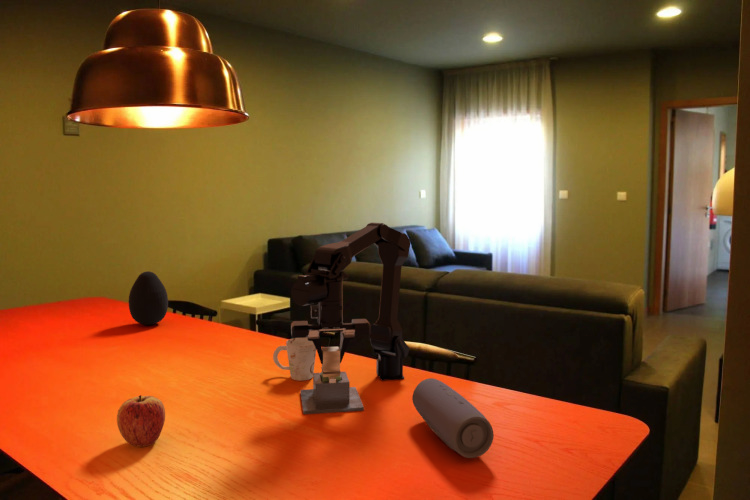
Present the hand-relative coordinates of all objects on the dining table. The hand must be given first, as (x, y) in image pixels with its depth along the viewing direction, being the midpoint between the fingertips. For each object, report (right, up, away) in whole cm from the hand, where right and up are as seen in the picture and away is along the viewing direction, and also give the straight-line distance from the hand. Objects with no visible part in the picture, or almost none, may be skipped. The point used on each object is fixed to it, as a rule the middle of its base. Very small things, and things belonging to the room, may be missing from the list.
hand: (330, 363), depth 141 cm
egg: (-73, -1, +77) cm, 106 cm away
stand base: (0, -10, +1) cm, 10 cm away
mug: (-11, -8, +19) cm, 24 cm away
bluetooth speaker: (+26, -12, -20) cm, 35 cm away
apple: (-36, -12, -22) cm, 45 cm away
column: (0, -5, +1) cm, 5 cm away
